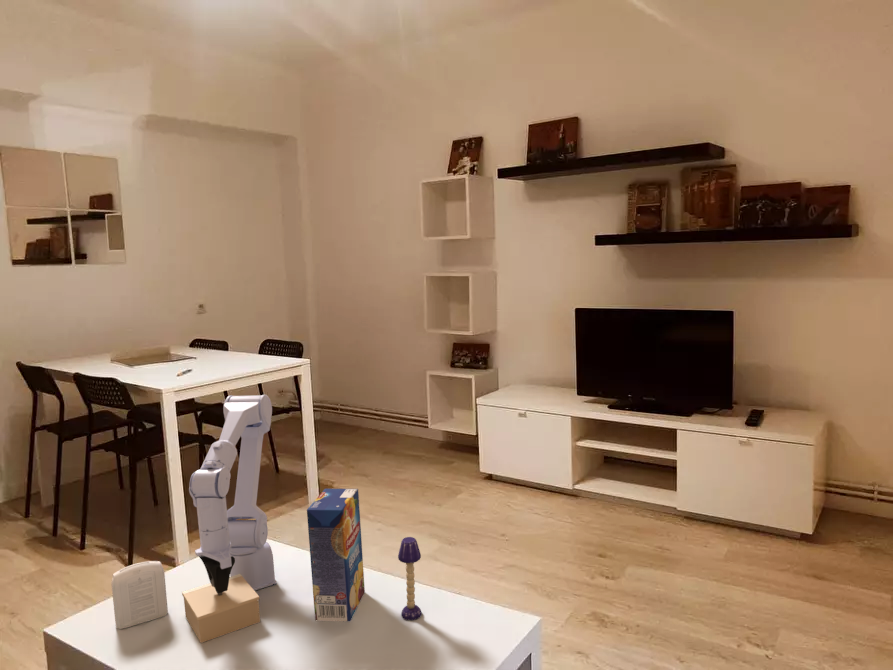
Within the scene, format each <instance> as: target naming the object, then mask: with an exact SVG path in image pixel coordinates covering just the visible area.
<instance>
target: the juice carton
mask: <svg viewBox="0 0 893 670" xmlns="http://www.w3.org/2000/svg"><path fill="white" fill-rule="evenodd" d="M359 497H360V495H359V488H324V489H323V490H322V491H321V492H320V494H319V495H318V496H317V497H316V498H315V500H314V501H313V502H312V503H311V505H310V506H308V508H307V509H306V515H307V516H306V517H307V529H308V530H307V531H308V542H309V543H308V545H309V555H310V569H311V570H310V571H311V584H312V594H313V608H314V620H315V621H316V620H317V621H320V622H323V621H324V622H343V621H344V622H345V623H346V621H347V622H349V623H350V622H351V621H352V619H353V617H354V615H355V613H356V612H357V609H358V607H359V605H360V603H361V601H362V599H363V597H364V594H365V593H366V589H365V574H364V559H363V557H364V556H363V543H362V528H361V513H360V511H361V510H360V498H359Z"/></svg>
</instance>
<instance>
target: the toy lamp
mask: <svg viewBox="0 0 893 670" xmlns="http://www.w3.org/2000/svg"><path fill="white" fill-rule="evenodd" d="M421 557H422V555H421V551H420V547H419V543H418V541H417V539H416V538H415V537H413V536H407V537H403V538H402V539H401V543H400V546H399V550H398V555H397V559H398V561H400V562H401V563H403V564H405V570H406V575H405V577H406V605H405V606H404V607H403V608H402V610H401V614H400V615H401V618H402V619H404V620H406V621H416V620H418V619H420V618H421V617H422V610H421V607H419V605H417V604H416V601H415V599H416V594H415V592H416V587H415V584H416V583H415V581H416V580H415V565H414V564H415V563H417V562H419V561H420V560H421Z"/></svg>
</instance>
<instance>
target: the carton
mask: <svg viewBox="0 0 893 670" xmlns="http://www.w3.org/2000/svg"><path fill="white" fill-rule="evenodd" d="M183 602H184V604H183V605H184V614H185V615H184V616H185V619H186V620H187V622H188V623H189V626H190V627H191V628H192V630H193V632H194V633H195V635H196V637H197V639H198V641H199V642H200V643H201V644H202V643H205V642H208V641H211V640H214V639H216V638H219V637H222V636H225V635H227V634H230V633H233V632H235V631H238V630H240V629H245V628H248V627H250V626H252V625H255V624H258V623H260V622H261V615H260V607H259V606H260V603H259V600H256V601H253V602H250V603H247V604H244V605H241V606H238V607H235V608H232V609H229V610H226V611H224V612H221V613H218V614H215V615H212V616H209V617H206V618H203V619H200V620H197V618H196V617H195V615H194V613H193V612H192V610H191V608H190V607H189V605H188V603H187V602H186V600H185V599H184V598H183Z"/></svg>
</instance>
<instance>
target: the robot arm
mask: <svg viewBox="0 0 893 670" xmlns="http://www.w3.org/2000/svg"><path fill="white" fill-rule="evenodd" d="M222 409H223V417H224V424H223V427H222V429H221V430H222V431H221V433H220V436H219V439H218V440H217V441H214V442H213V443H212V444H211V445H210V448H209V450H208V452H207V453H206V456H205V458H204V461H203V462H202V465H201V467H200V469H197V470H196V471H193V473H192V474H191V476H190V479H189V485H188V486H189V488H188V492H189V495H190V497H191V498H192V501H193V503H192V504H193V507H195V508H196V513H197V514H196V515H197V523H198V524H197V525H198V533H199V542H200V547H199V548H197V549H195V550H194V554H195V556H196V557H199V559H200V560H201V562H202V564H203V565H204V567H205V570H206V573H207V576H208V579H209V583H211V580H212V579H213V583H214V587H215V590H216V592H217V593H221V592H224V591H227V590H228V584H229V577H231V576H235V575H238V574H241V575H242V577H243V578H244V579H245V580H246V581H247V583H248V584H249V585H250V586H251V587H252V588H253V590H254V591H255V592H256V591H258V590H261V589H263V588H264V589H265V588H267V587H270V586H273V584H274V585H276V584H277V581H276V578H275V577H276V576H275V564H274V561H275V560H274V554H273V551H272V547H271V545H270V542H268V532H269V529H268V528H269V527H268V515H267V514H266V512H265V511H263V509H261V508H260V507H259V506H258V505H257V499H258V491H259V490H258V489H259V481H260V470H261V463H262V461H261V459H262V452H263V451H262V450H263V443H264V442H263V441H264V435H265V434H267V433H268V432H269V431H270V430H271V426H272V417H273V415H272V414H273V406H272V400H271V398H270V397H269V395H267V394H262V395H261V394H260V395H259V394H258V395H256V394H255V395H232V394H231V395H228V396H227V397H226V399H225V400H224V402H223V408H222ZM240 438H241V441H240V449H239V451H240V452H239V459H238V466H237V467H238V469H237V477H236V478H237V479H236V485H235V486H236V487H235V494H234V503H233V505H232V506H231V507H230V508H227V507H228V506H227V498H226V497H227V496H226V495H228V492H229V489H230V483H231V482H230V481H231V480H230V479H231V470H232V468H233V466H234V463H235V461H236V458H237V455H238V449H237V448H236V445H237V444H238V442H239V440H240ZM211 585H212V584H211Z"/></svg>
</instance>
